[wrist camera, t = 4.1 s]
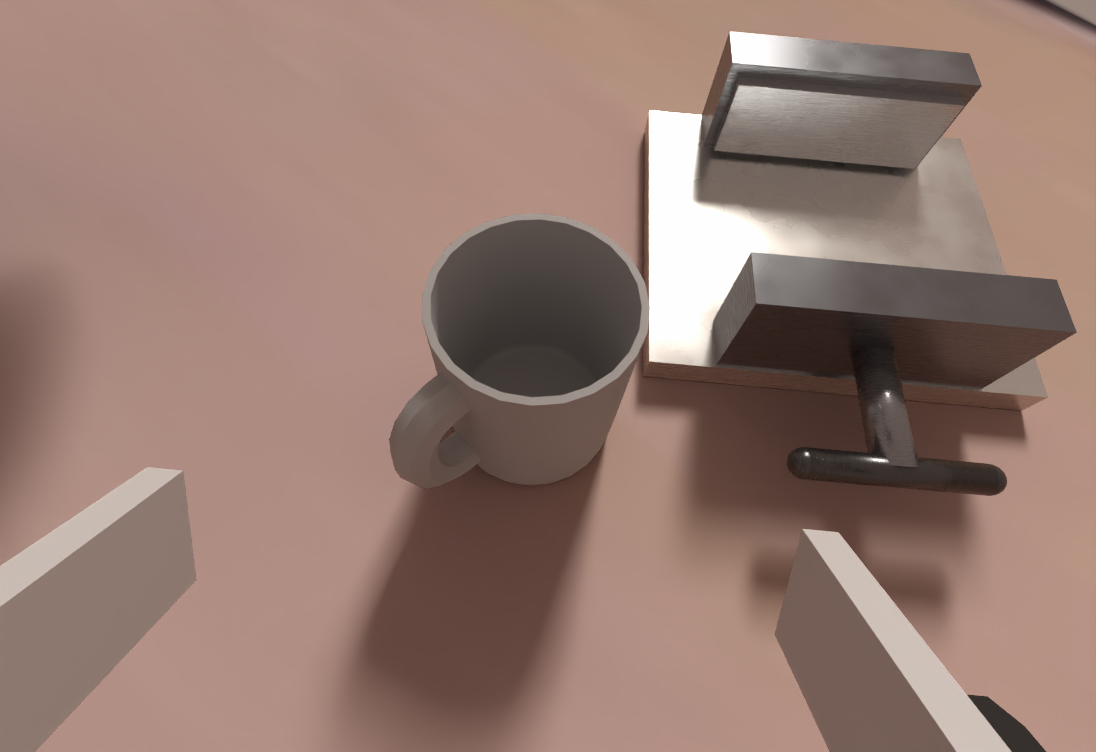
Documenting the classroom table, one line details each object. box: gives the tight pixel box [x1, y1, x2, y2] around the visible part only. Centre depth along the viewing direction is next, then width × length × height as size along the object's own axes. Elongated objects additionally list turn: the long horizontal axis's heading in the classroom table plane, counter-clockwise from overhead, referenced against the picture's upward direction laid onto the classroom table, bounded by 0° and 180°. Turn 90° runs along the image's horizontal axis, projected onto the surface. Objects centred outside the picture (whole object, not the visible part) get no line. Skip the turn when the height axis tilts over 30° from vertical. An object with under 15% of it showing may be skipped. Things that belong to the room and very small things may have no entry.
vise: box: [643, 32, 1077, 496], centre depth 27 cm, size 18×22×6 cm
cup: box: [389, 214, 650, 489], centre depth 22 cm, size 7×10×9 cm
